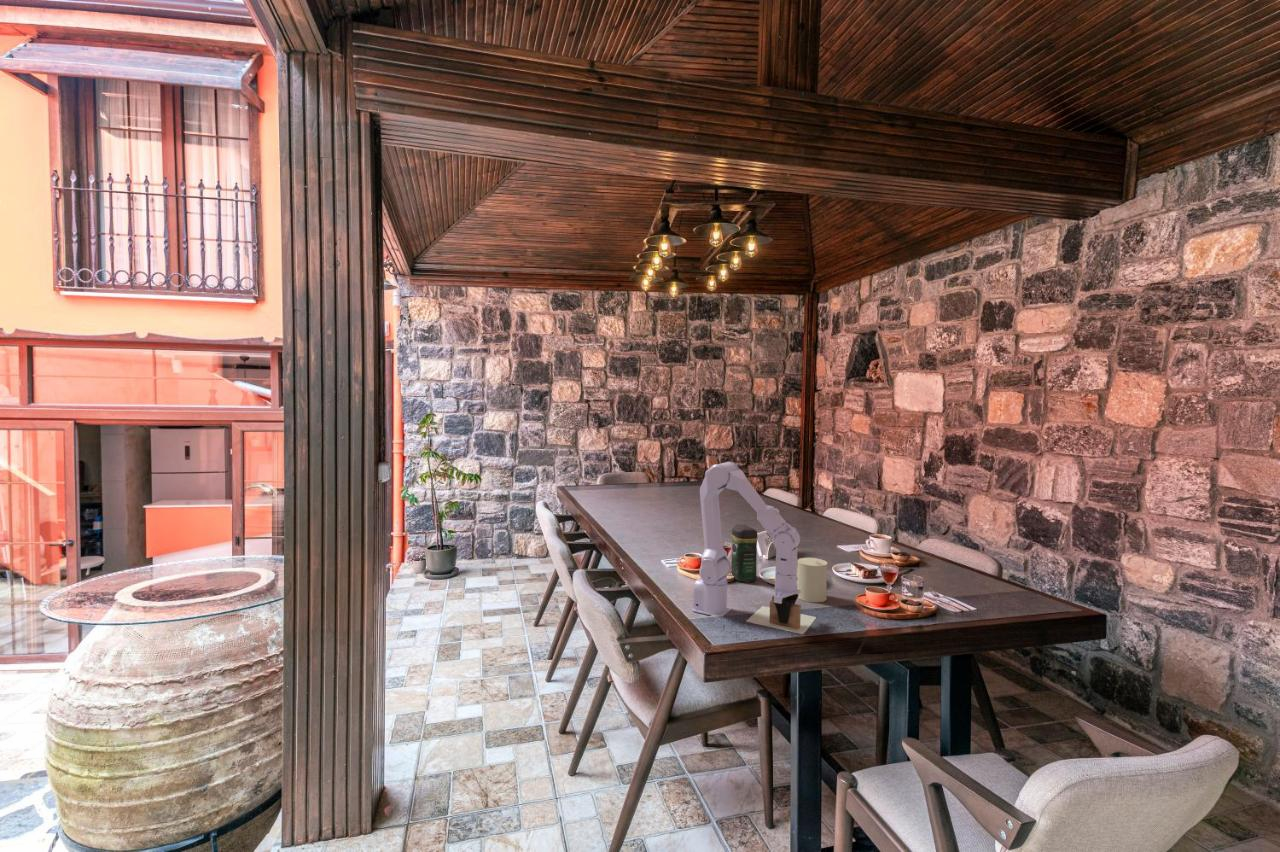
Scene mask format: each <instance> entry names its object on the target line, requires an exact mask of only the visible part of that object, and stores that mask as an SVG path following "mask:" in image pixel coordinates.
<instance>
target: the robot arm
mask: <svg viewBox="0 0 1280 852" xmlns="http://www.w3.org/2000/svg"><path fill="white" fill-rule="evenodd" d="M724 489H727V490H732V491H735V492H738V493H739V494H740V496H742V497H743V498H744V500H745V501H746V502H747V503H748V505H750V506H751V508H752V509H753V510H754V511H755V512H756V520H757V521H758V522H759V524H760V525H761V526H762V527H763V529H764V530H765V531H766V532H767V533H768V535H769V536H770V537H771V538H772V539H773V540H772V543H773V546H774V548H775V577H774V595H773V596H772V598H771V600H772V601H773V602H774V604H775V607H776V609H777V613H778V618H779V622H780V623H784V624H787V623H788V619H789V613H790V609H791V606H792V604H796V602H797V600H798V599H799V598H798V596H799V595H798V594H800V593H801V590H798V589H797V578H798V547H797V546H799V544H800V542H801V535H800V533H799V532H798V529H797V528H796V527H792V526H791V524H790V523H788V522H787V521H786V520H785V519H784V518H783V517H782V515H781V514H780V510H779V509H778V508H776V507H774V505H773V506H772V505H768V504H766V502H765V501H764V500H763V498H762V497H761V496H760V494H759V493H758V492H757V490H756V489H755V488H754V486H753V485H752V484H751V482H750V481H749V480H748V478H747V476H746V474H745V472H743V470H741V469H740V468H739V466H738V465H737V463H735V462H733V461H725V462H723V463H718V464H717V463H716V464H713V465H711V466H710V467H709V468H708V469H707V470H706V471H705V472H704V478H703V480H702V483H701V485H700V488H699V499H700V510H701V520H702V533H703V544H704V549H703V553H702V555H701V558H700V561H701V563H700V567H699V570H698V571H699V572H698V573H699V577H700V578H697V579H696V581H694V582H695V583H694V587H693V605H692V606H693V607H692V609H691V611H692V612H694V613H698V614H701V615H707V616H716V617H724V616H725V615H726V614H727V613H728V612H729V611H731V610H732V609H733V608H732V607H730V606H728V575H729V574H731V562H730V560H729V559H728V553H727V551H726V550H725V548H724V544H723V534H722V533H723V532H722V531H723V530H722V520H721V511H720V500H719V499H720V497H719V495H720V494H721V493H722V491H724Z"/></svg>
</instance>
